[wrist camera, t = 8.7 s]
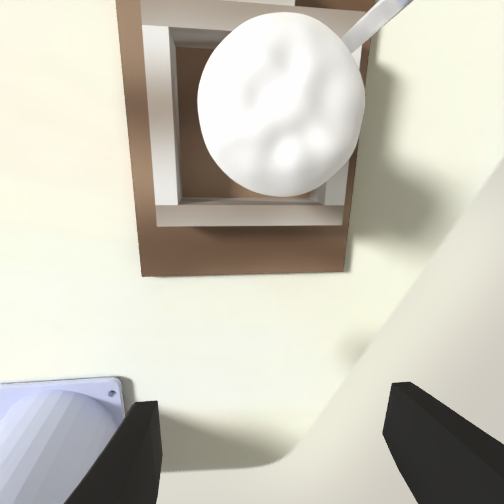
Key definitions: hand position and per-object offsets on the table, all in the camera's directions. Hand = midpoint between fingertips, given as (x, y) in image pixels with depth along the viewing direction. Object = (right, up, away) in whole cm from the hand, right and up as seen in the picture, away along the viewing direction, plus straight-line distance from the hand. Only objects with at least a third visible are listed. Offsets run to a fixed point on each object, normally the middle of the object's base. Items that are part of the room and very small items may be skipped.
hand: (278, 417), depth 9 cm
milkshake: (-1, +12, +7) cm, 13 cm away
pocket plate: (-1, +12, +7) cm, 14 cm away
